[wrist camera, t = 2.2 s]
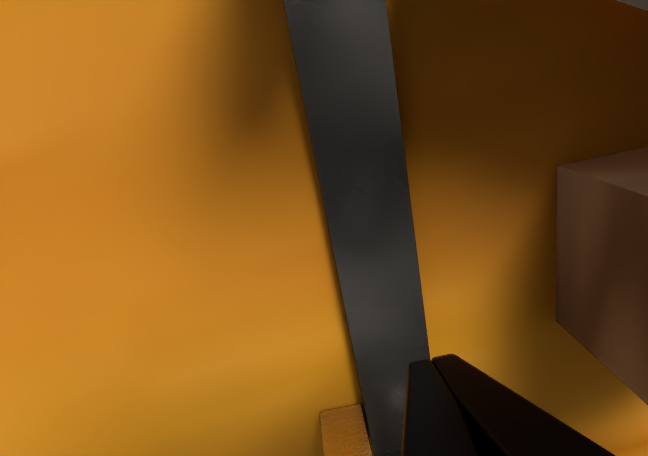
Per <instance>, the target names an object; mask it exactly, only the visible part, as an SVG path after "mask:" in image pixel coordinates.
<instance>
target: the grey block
mask: <svg viewBox="0 0 648 456" xmlns="http://www.w3.org/2000/svg"><path fill="white" fill-rule="evenodd" d="M616 1H619V2H622V3H625V4H628V5H631V6H634V7H637V8H640V9H643V10H646V11H648V0H616Z"/></svg>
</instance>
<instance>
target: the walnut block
mask: <svg viewBox="0 0 648 456" xmlns="http://www.w3.org/2000/svg"><path fill="white" fill-rule="evenodd" d="M556 321H557V322H558V323H559V324H560V325H561V326H562V327H563V328H564V329H565V330H567V331H568V332H569V333H570V334H571V335H572V336H573V337H574V338H575V339H576V340H577V341H578V342H580V343H581V344H582V345H583V346H584V347H585V348H586V349H587V350H588V351H589V352H590V353H592V354H593V355H594V356H595V357H596V358H597V359H598V360H599V361H600V362H601V363H602V364H603V365H605V366H606V367H607V368H608V369H609V370H610V371H611V372H612V373H613V374H614V375H615V376H617V377H618V378H619V379H620V380H621V381H622V382H623V383H624V384H625V385H626V386H627V387H628V388H630V389H631V390H632V391H633V392H634V393H635V394H636V395H637V396H638V397H639V398H640V399H642V400H643V401H644V402H645V403H646V404H647V405H648V147H644V148H639V149H634V150H630V151H625V152H620V153H615V154H610V155H606V156H601V157H596V158H591V159H586V160H581V161H577V162H572V163H567V164H562V165H557V276H556Z"/></svg>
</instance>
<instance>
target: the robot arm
mask: <svg viewBox="0 0 648 456" xmlns="http://www.w3.org/2000/svg"><path fill="white" fill-rule="evenodd" d="M401 456H615V455H614V454H612V453H611V452H609V451H607V450H606V449H604V448H603V447H601V446H599V445H598V444H596V443H595V442H593V441H591V440H590V439H588V438H587V437H585V436H584V435H582V434H580V433H579V432H577V431H576V430H574V429H572V428H571V427H569V426H568V425H566V424H565V423H563V422H561V421H560V420H558V419H557V418H555V417H553V416H552V415H550V414H549V413H547V412H545V411H544V410H542V409H541V408H539V407H538V406H536V405H534V404H533V403H531V402H530V401H528V400H526V399H525V398H523V397H522V396H520V395H518V394H517V393H515V392H514V391H512V390H511V389H509V388H507V387H506V386H504V385H503V384H501V383H499V382H498V381H496V380H495V379H493V378H491V377H490V376H488V375H487V374H485V373H484V372H482V371H480V370H479V369H477V368H476V367H474V366H472V365H471V364H469V363H468V362H466V361H465V360H463V359H461V358H460V357H458V356H457V355H454V354H447V355H442V356H438V357H434V358H433V359H432V360H429V359H424V360H419V361H414V362H411V363H409V365H408V373H407V386H406V399H405V412H404V425H403V437H402V450H401Z"/></svg>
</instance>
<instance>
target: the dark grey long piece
mask: <svg viewBox="0 0 648 456" xmlns="http://www.w3.org/2000/svg"><path fill="white" fill-rule="evenodd" d="M283 3H284V8H285V13H286V18H287V23H288V28H289V33H290V38H291V43H292V48H293V53H294V58H295V63H296V68H297V73H298V78H299V83H300V88H301V93H302V98H303V102H304V107H305V112H306V117H307V122H308V127H309V132H310V137H311V142H312V147H313V152H314V157H315V162H316V167H317V172H318V177H319V182H320V187H321V192H322V197H323V202H324V207H325V212H326V217H327V222H328V227H329V232H330V237H331V242H332V247H333V252H334V257H335V262H336V267H337V272H338V277H339V282H340V287H341V292H342V297H343V302H344V307H345V312H346V317H347V322H348V327H349V332H350V337H351V342H352V347H353V352H354V357H355V362H356V367H357V372H358V377H359V382H360V387H361V392H362V397H363V402H364V407H365V412H366V417H367V422H368V427H369V431H370V436H371V441H372V446H373V451H374V456H401V450H402V437H403V425H404V412H405V399H406V386H407V373H408V365H409V363H411V362H414V361H419V360H424V359H429V360H430V354H429V346H428V338H427V330H426V322H425V314H424V306H423V297H422V289H421V281H420V273H419V265H418V257H417V249H416V241H415V233H414V225H413V217H412V209H411V201H410V193H409V185H408V177H407V168H406V160H405V152H404V144H403V136H402V128H401V120H400V112H399V104H398V96H397V88H396V80H395V72H394V64H393V56H392V48H391V39H390V31H389V23H388V15H387V7H386V0H283ZM320 420H321V431H322V441H323V451H324V456H372V453H371V449H370V444H369V440H368V435H367V431H366V426H365V422H364V418H363V413H362V409H361V404H356V405H351V406H346V407H342V408H337V409H332V410H328V411H323V412H320Z"/></svg>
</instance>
